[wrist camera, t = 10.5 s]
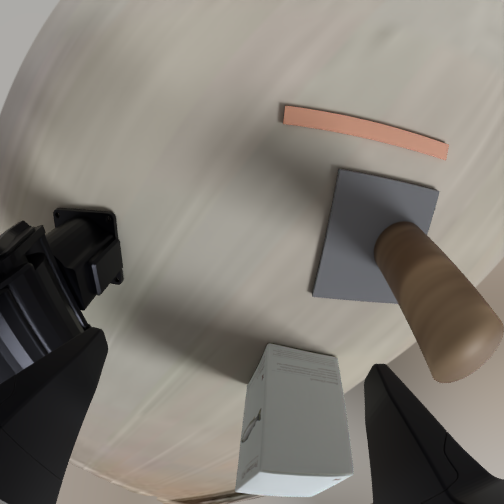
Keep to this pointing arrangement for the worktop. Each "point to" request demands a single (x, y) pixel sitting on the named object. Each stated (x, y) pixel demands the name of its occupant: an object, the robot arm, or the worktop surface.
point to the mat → (366, 233)
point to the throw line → (364, 130)
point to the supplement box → (294, 426)
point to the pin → (437, 303)
